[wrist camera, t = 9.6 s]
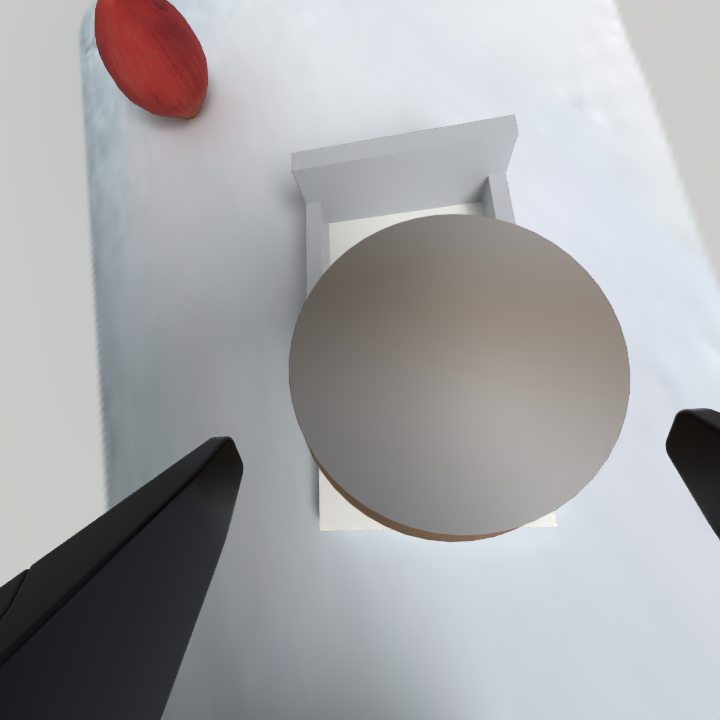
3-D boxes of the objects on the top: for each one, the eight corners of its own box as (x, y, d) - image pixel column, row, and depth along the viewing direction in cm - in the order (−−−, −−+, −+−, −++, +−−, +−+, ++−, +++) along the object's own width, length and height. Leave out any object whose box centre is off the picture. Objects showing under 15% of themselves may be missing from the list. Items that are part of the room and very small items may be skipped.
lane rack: (548, 521, 15) (609, 553, 10) (325, 526, 16) (288, 556, 12) (490, 196, 20) (514, 114, 15) (319, 221, 21) (291, 153, 16)
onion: (172, 83, 26) (73, -67, 19) (239, 83, 25) (163, -77, 18) (145, 145, 25) (27, 10, 17) (215, 148, 24) (121, 6, 16)
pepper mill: (477, 491, 15) (691, 621, 3) (363, 474, 16) (225, 532, 4) (482, 377, 16) (650, 189, 5) (375, 368, 17) (294, 190, 5)
